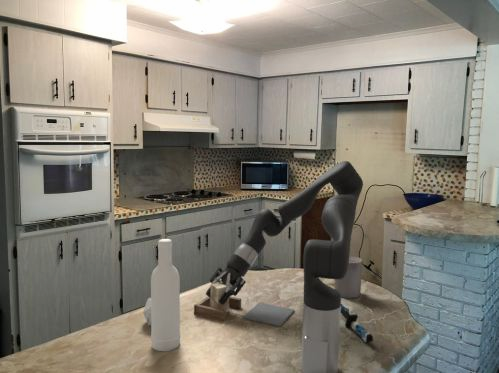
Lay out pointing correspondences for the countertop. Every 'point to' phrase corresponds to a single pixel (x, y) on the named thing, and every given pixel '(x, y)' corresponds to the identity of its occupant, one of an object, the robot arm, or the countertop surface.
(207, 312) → the stall
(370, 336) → the knife
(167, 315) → the bottle
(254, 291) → the countertop surface
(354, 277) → the pillar candle
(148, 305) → the die
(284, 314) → the pad
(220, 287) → the ash block
